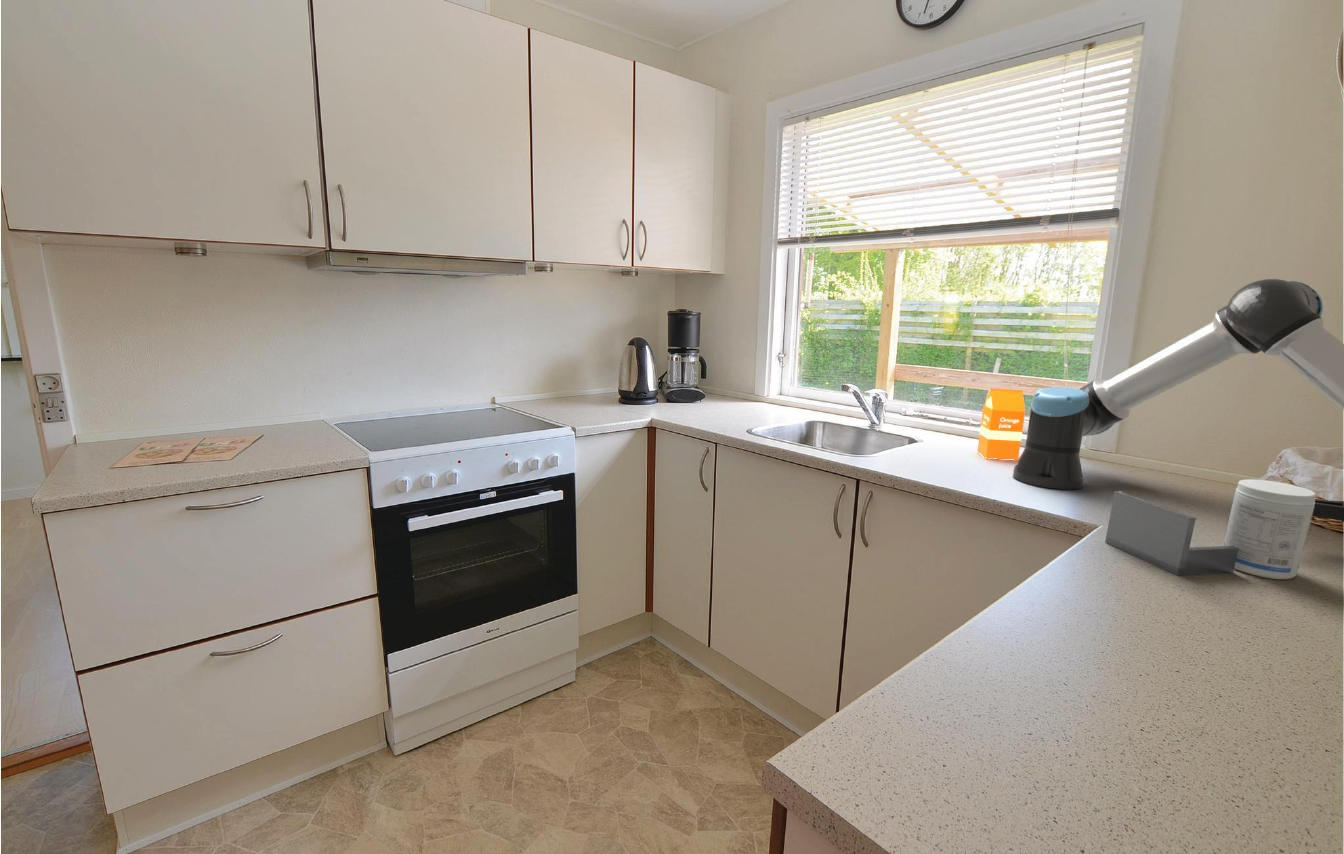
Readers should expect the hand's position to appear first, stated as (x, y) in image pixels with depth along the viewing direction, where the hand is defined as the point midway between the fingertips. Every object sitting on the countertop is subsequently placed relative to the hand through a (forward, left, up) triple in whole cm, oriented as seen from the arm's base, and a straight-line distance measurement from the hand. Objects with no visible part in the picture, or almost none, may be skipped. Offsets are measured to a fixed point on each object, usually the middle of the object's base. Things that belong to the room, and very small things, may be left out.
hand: (1314, 522), depth 103 cm
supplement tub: (0, -10, -8) cm, 13 cm away
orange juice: (-75, -3, -8) cm, 75 cm away
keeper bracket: (-6, -21, -8) cm, 23 cm away
